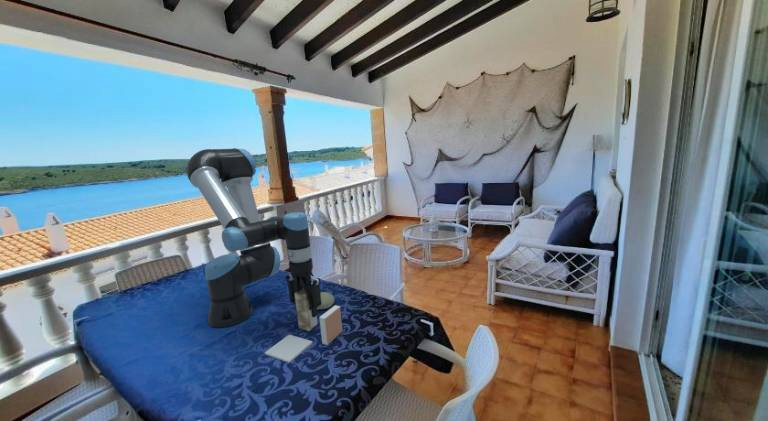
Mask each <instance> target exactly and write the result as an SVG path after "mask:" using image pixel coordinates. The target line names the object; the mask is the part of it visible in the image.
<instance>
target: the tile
mask: <svg viewBox="0 0 768 421" xmlns="http://www.w3.org/2000/svg"><path fill="white" fill-rule="evenodd" d="M341 312H342V310H341V306H340V305H332V306H331V308H329V309H327V311H326V312H324V313H323V314H322V315H320V316H319V326H320V335H321V336H320V337H321V343H322V345H326V346H328V345H330V344H331V343H332V342H333V341H334V340H335V339H336V338H337V337H338V336H339V335H340V334H342V332H343V322H342V313H341Z"/></svg>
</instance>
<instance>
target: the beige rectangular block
mask: <svg viewBox="0 0 768 421" xmlns="http://www.w3.org/2000/svg"><path fill="white" fill-rule="evenodd" d="M295 301H296V305H295V310H296V309H297V312H296V316H297V323H298V329H300V330H303V331H307V332H310V331H311V330H313V329H314V328H315V327H316V326H317V325H318V324H319V323H318V321H317V324H315V325H314V326H313V327H310V319H309V310H308V309H309V308H310V306H309V302H308V299H307V294H306V292H305V290H303V289H302V290H300V291H299V292H296V293H295Z"/></svg>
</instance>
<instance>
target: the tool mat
mask: <svg viewBox="0 0 768 421" xmlns="http://www.w3.org/2000/svg"><path fill="white" fill-rule="evenodd" d="M313 343H314V342H313V341H312V340H309V339H306V338H303V337H300V336H295V335H292V334H288V335H286V336H285V337H284V338H282V340H280V341H278V342H277V343H276V344H275V345H273V346H271V347H270V348H269V349H267V350H266V351H265V352H264V355H266V356H268V357H271V358H274V359H276V360H279V361H283V362H285V363H288V364H290V363H291V362H293V361H294V360H295V359H296V358H297V357H298V356H300V355H301V354H302V353H303V352H304V351H305V350H307V349H308V348H309V347H310V346H311V345H312V344H313Z"/></svg>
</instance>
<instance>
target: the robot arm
mask: <svg viewBox="0 0 768 421" xmlns="http://www.w3.org/2000/svg"><path fill="white" fill-rule="evenodd" d="M256 166H257V164H256V161H255V158H254V157H253V155H252V154H251V152H249V151H248V150H247V149H245V148H237V147H236V148H235V147H234V148H212V149H211V148H209V149H206V148H205V149H201V150H199V151H197V152H195V153H194V154H193V155H192V156H191V157H190V159H189V161H188V162H187V164H186V175H187V178H188V180H189V182H190V183H191V185H192V186H193V187H195V188H197V189H198V190H199V192H200V193H201V195H202V196H203V199H205V201H206V202H207V205H209V207H210V209H211V210H212V213H214V215H215V217H216V218H217V219H218V222H219V223H220V225H221V226H222V228H223V229H222V232H221V240H222V243H223V246H224V248H225V249H226V251H228V252H231V253H228V254H223V255H219V256H216V257H215V258H213V259H211V260H209V261H208V262H207V263H206V264H205V267H204V270H205V273H204V274H205V279H206V285H207V290H208V294H209V300H210V304H209V310H208V316H207V321H208V325H209V326H211V327H212V328H227V327H231V326H234V325H237V324H239V323H242V322H244V321H246V320H248V319H249V318H250V317H251V316H252V315H253V312H254V311H253V310H254V308H253V304H252V302H251V301H250V299H249V297H248V296H247V294H246V293H245V286H247V285H250V284H252V283H255V282H258V281H260V280H264V279H268V278H270V277H271V276H274V275H276V274H277V273H278V272H279V270H280V268H281V255H280V252H279V250H278V248H277V247H275V246H273V245H272V244H271V243H272V242H275V241H278V240H283V241H285V243H286V250H287V259H288V267H289V272H290V274H287V275H286V276H285V280H286V282H287V287H288V296H289V302H290V303H291V304H294V306H296V301H295V293H296V292H299V291H300V290H302V289H303V290H305V292H306V294H307V299H308V302H309V306H310V308H309V309H308V310H309V319H310V327H313V326H314V325H315V324H317V322H318V310H317V307H319V306H320V305H321V294H320V293H321V287H320V286H321V285H320V284H321V278H320V277H317V278H316V277H315V276H314V274H313V268H314V265H313V258H312V257H313V256H312V249H311V238H310V229H309V226H310V225H309V221H308V217H307V213H305V212H300V211H298V212H291V213H286V214H285V215H283V216H279V215H276V216H274V215H273V216H270V217H268V218H266V219H264V220H261V219H260V215H259V211H258V209H257V204H256V200H255V197H254V192H253V189H252V186H251V184H252V181H253V180H254V177H253V176H255V175H256V172H257V169H256V168H257V167H256ZM237 251H239V253H240V255H239V254H238V253H234V252H237ZM232 252H233V253H232ZM295 312H296V313H297V309H296V308H295ZM317 325H318V324H317Z"/></svg>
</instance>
